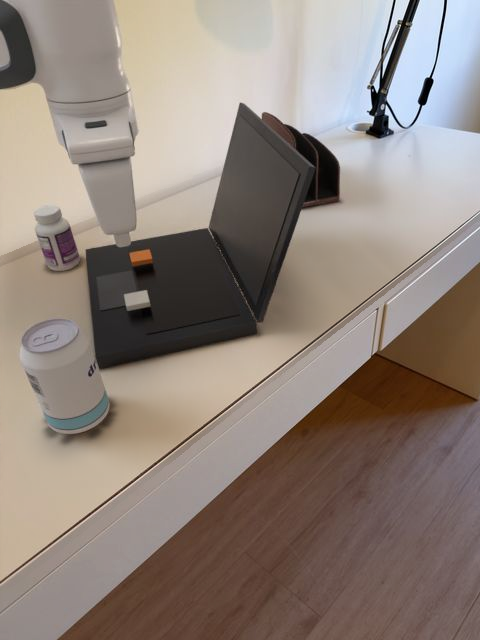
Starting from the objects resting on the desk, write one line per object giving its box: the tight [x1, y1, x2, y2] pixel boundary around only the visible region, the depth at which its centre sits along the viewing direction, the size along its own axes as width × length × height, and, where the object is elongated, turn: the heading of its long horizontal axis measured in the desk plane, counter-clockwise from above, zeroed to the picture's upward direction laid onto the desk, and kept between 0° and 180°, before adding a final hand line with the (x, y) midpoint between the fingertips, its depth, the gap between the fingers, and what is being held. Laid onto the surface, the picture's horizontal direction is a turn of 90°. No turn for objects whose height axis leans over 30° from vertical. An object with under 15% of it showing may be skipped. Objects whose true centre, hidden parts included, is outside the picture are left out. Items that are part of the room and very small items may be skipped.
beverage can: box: [19, 317, 111, 435], centre depth 56 cm, size 7×7×12 cm
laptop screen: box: [207, 102, 316, 323], centre depth 76 cm, size 21×30×1 cm
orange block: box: [129, 249, 153, 266], centre depth 82 cm, size 3×3×1 cm
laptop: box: [85, 227, 258, 370], centre depth 79 cm, size 21×30×2 cm
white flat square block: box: [124, 290, 151, 311], centre depth 73 cm, size 3×3×1 cm
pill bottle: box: [33, 204, 81, 272], centre depth 85 cm, size 5×5×10 cm
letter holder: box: [261, 111, 341, 209], centre depth 105 cm, size 10×20×14 cm, turn 17°
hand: (122, 235), depth 67 cm, fingers open, 3 cm apart
